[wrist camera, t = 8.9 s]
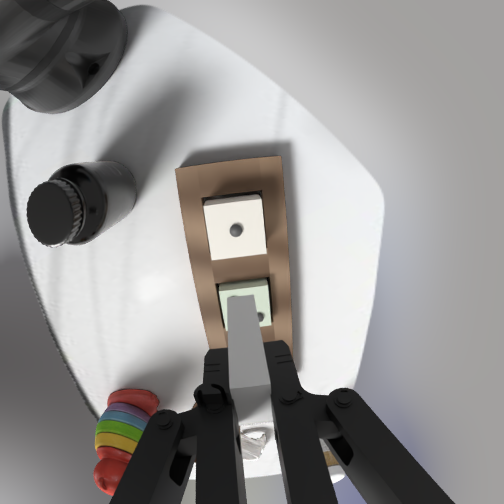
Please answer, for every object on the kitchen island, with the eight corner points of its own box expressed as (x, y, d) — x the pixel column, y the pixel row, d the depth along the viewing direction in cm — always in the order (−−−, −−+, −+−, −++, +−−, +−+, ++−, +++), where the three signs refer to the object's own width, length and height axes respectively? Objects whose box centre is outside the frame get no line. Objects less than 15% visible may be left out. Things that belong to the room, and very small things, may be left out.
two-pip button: (219, 278, 31) (218, 292, 28) (264, 273, 31) (268, 286, 28) (226, 316, 32) (226, 331, 29) (267, 311, 33) (271, 326, 30)
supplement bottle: (130, 229, 28) (79, 275, 17) (79, 212, 27) (15, 247, 15) (146, 168, 26) (93, 179, 15) (91, 153, 25) (22, 160, 13)
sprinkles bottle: (300, 428, 42) (315, 488, 30) (300, 415, 41) (317, 479, 28) (324, 423, 43) (343, 481, 30) (326, 410, 41) (347, 471, 28)
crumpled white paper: (264, 444, 45) (268, 463, 41) (230, 448, 44) (234, 468, 40) (265, 427, 42) (271, 448, 38) (228, 431, 41) (231, 454, 37)
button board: (178, 167, 26) (175, 169, 24) (277, 155, 27) (281, 155, 25) (222, 386, 37) (222, 396, 35) (290, 378, 37) (293, 387, 35)
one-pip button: (206, 200, 26) (203, 206, 23) (257, 194, 26) (261, 199, 23) (213, 249, 28) (211, 261, 25) (262, 243, 28) (266, 254, 25)
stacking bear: (169, 427, 40) (159, 512, 23) (118, 421, 39) (98, 499, 23) (155, 390, 36) (135, 490, 20) (98, 383, 36) (64, 471, 19)
